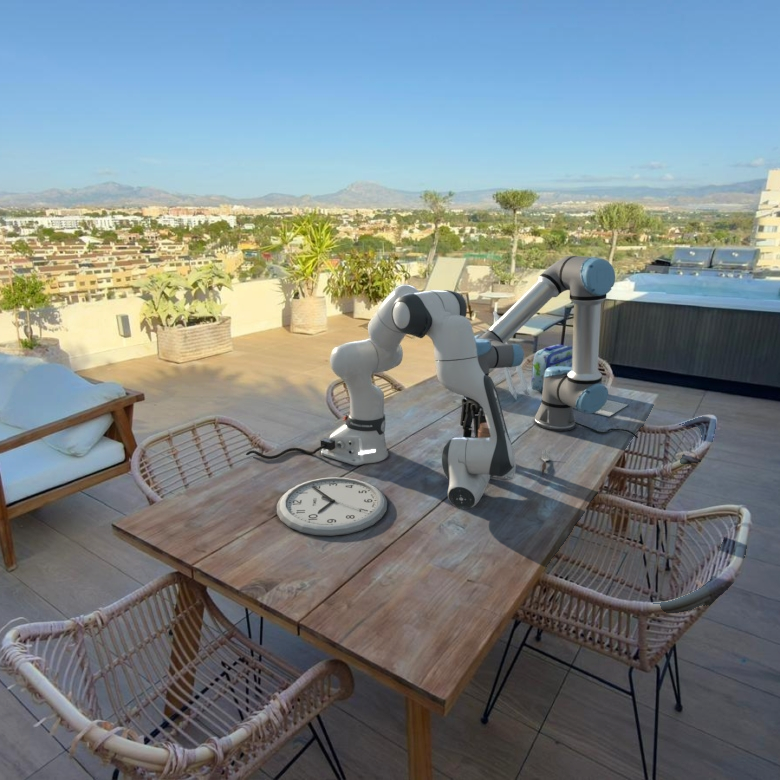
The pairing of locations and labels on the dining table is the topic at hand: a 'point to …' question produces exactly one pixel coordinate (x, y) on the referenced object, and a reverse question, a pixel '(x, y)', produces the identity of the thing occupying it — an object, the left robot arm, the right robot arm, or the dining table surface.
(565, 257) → the right robot arm
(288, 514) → the wall clock
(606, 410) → the invitation card
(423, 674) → the dining table surface
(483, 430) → the tan rounded cylinder
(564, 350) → the lunch box
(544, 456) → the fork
